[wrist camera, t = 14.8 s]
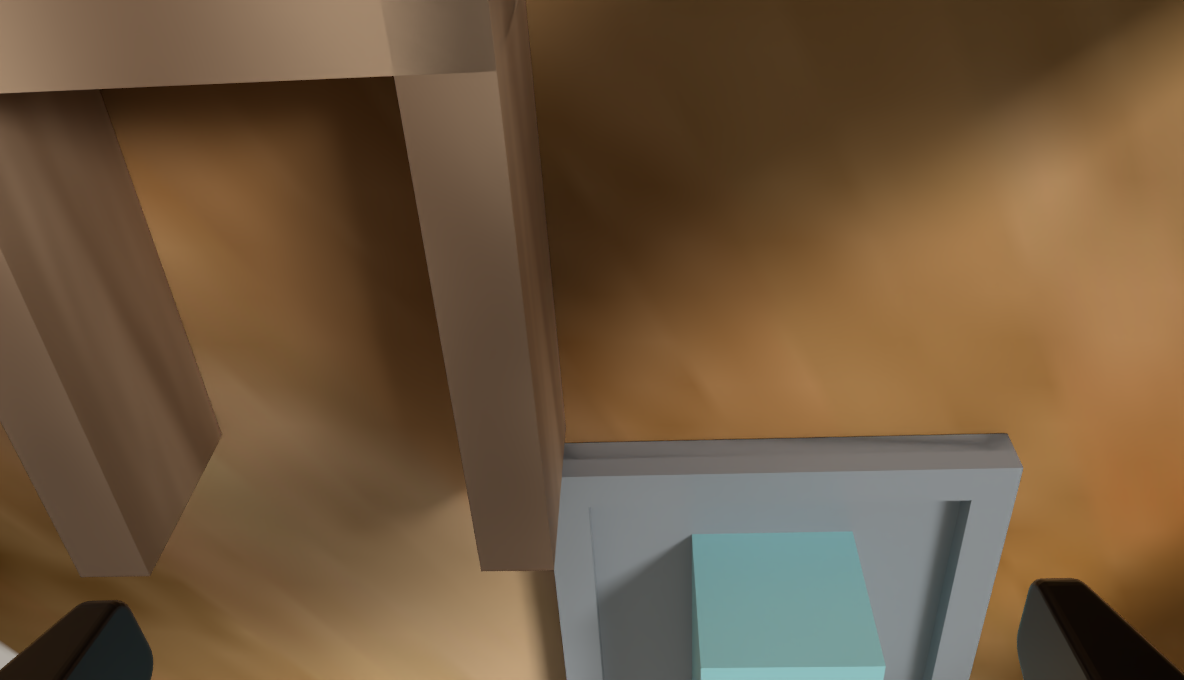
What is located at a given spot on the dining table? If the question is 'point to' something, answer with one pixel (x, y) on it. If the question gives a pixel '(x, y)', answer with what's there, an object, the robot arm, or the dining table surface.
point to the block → (781, 608)
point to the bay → (143, 297)
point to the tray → (780, 505)
